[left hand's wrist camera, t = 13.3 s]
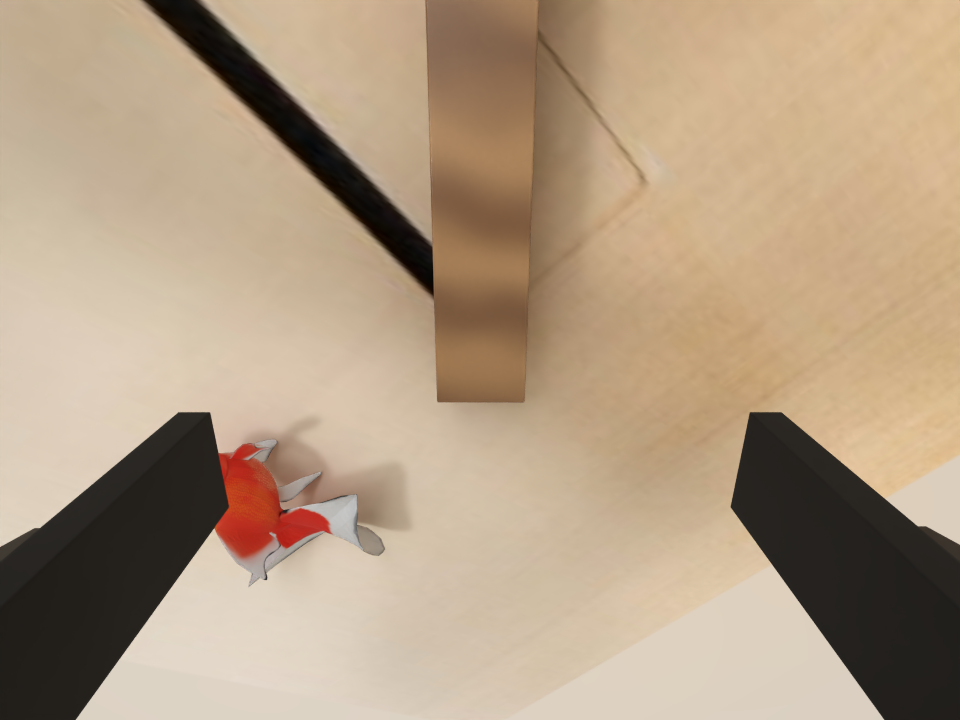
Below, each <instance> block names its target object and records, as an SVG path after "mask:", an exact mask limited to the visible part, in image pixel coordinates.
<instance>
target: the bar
mask: <svg viewBox="0 0 960 720" xmlns="http://www.w3.org/2000/svg"><path fill="white" fill-rule="evenodd" d="M538 12H539V0H426V34H427V68H428V102H429V137H430V171H431V205H432V240H433V274H434V308H435V343H436V377H437V401H438V402H524V401H525V374H526V346H527V318H528V291H529V263H530V235H531V207H532V179H533V151H534V123H535V95H536V67H537V40H538Z"/></svg>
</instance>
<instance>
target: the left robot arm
mask: <svg viewBox="0 0 960 720" xmlns="http://www.w3.org/2000/svg"><path fill="white" fill-rule="evenodd" d="M228 508H229V503H228V498H227V493H226V488H225V483H224V478H223V474H222V469H221V464H220V459H219V454H218V449H217V444H216V439H215V434H214V429H213V424H212V419H211V414H210V412H178V413H177V414H176V415H175V416H174V417H173V418H171V419H170V420H169V421H168V422H167V423H165V424H164V425H163V426H162V427H161V428H159V429H158V430H157V431H156V432H155V433H153V434H152V435H151V436H150V437H149V438H147V439H146V440H145V441H144V442H143V443H141V444H140V445H139V446H138V447H137V448H135V449H134V450H133V451H132V452H131V453H129V454H128V455H127V456H126V457H125V458H123V459H122V460H121V461H120V462H119V463H118V464H116V465H115V466H114V467H113V468H112V469H110V470H109V471H108V472H107V473H106V474H104V475H103V476H102V477H101V478H100V479H98V480H97V481H96V482H95V483H94V484H92V485H91V486H90V487H89V488H88V489H86V490H85V491H84V492H83V493H82V494H80V495H79V496H78V497H77V498H76V499H74V500H73V501H72V502H71V503H70V504H68V505H67V506H66V507H65V508H64V509H62V510H61V511H60V512H59V513H58V514H57V515H55V516H54V517H53V518H52V519H51V520H49V521H48V522H47V523H46V524H45V525H43V526H42V527H41V528H34V529H32V530H31V531H29V532H27V533H25V534H23V535H21V536H20V537H18V538H16V539H14V540H12V541H11V542H9V543H7V544H5V545H3V546H1V547H0V720H76V719H77V717H78V716H79V714H80V713H81V711H82V710H83V709H84V707H85V706H86V705H87V703H88V702H89V701H90V699H91V698H92V696H93V695H94V694H95V692H96V691H97V689H98V688H99V687H100V685H101V684H102V683H103V681H104V680H105V678H106V677H107V676H108V674H109V673H110V671H111V670H112V669H113V667H114V666H115V665H116V663H117V662H118V660H119V659H120V658H121V656H122V655H123V654H124V652H125V651H126V649H127V648H128V647H129V645H130V644H131V642H132V641H133V640H134V638H135V637H136V636H137V634H138V633H139V631H140V630H141V629H142V627H143V626H144V624H145V623H146V622H147V620H148V619H149V618H150V616H151V615H152V613H153V612H154V611H155V609H156V608H157V606H158V605H159V604H160V602H161V601H162V600H163V598H164V597H165V595H166V594H167V593H168V591H169V590H170V588H171V587H172V586H173V584H174V583H175V582H176V580H177V579H178V577H179V576H180V575H181V573H182V572H183V571H184V569H185V568H186V566H187V565H188V564H189V562H190V561H191V559H192V558H193V557H194V555H195V554H196V553H197V551H198V550H199V548H200V547H201V546H202V544H203V543H204V541H205V540H206V539H207V537H208V536H209V535H210V533H211V532H212V530H213V529H214V528H215V526H216V525H217V523H218V522H219V521H220V519H221V518H222V517H223V515H224V514H225V512H226V511H227V510H228ZM731 508H732V510H733V511H734V512H735V514H736V515H737V517H738V518H739V519H740V521H741V522H742V523H743V525H744V526H745V528H746V529H747V530H748V532H749V533H750V535H751V536H752V537H753V539H754V540H755V541H756V543H757V544H758V546H759V547H760V548H761V550H762V551H763V553H764V554H765V555H766V557H767V558H768V559H769V561H770V562H771V564H772V565H773V566H774V568H775V569H776V570H777V572H778V573H779V575H780V576H781V577H782V579H783V580H784V582H785V583H786V584H787V586H788V587H789V588H790V590H791V591H792V593H793V594H794V595H795V597H796V598H797V599H798V601H799V602H800V604H801V605H802V606H803V608H804V609H805V611H806V612H807V613H808V615H809V616H810V618H811V619H812V620H813V622H814V623H815V624H816V626H817V627H818V629H819V630H820V631H821V633H822V634H823V635H824V637H825V638H826V640H827V641H828V642H829V644H830V645H831V647H832V648H833V649H834V651H835V652H836V653H837V655H838V656H839V658H840V659H841V660H842V662H843V663H844V665H845V666H846V667H847V669H848V670H849V671H850V673H851V674H852V676H853V677H854V678H855V680H856V681H857V683H858V684H859V685H860V687H861V688H862V689H863V691H864V692H865V694H866V695H867V696H868V698H869V699H870V701H871V702H872V703H873V705H874V706H875V707H876V709H877V710H878V712H879V713H880V714H881V716H882V717H883V719H884V720H960V545H959V544H957V543H955V542H954V541H952V540H950V539H948V538H946V537H944V536H943V535H941V534H939V533H937V532H935V531H933V530H932V529H930V528H928V527H926V526H924V527H922V526H920V527H918V526H917V525H915V524H914V523H913V522H912V521H911V520H909V519H908V518H907V517H906V516H905V515H903V514H902V513H901V512H900V511H899V510H898V509H896V508H895V507H894V506H893V505H891V504H890V503H889V502H888V501H887V500H886V499H884V498H883V497H882V496H881V495H880V494H878V493H877V492H876V491H875V490H874V489H872V488H871V487H870V486H869V485H868V484H866V483H865V482H864V481H863V480H862V479H860V478H859V477H858V476H857V475H856V474H854V473H853V472H852V471H851V470H850V469H848V468H847V467H846V466H845V465H844V464H842V463H841V462H840V461H839V460H838V459H837V458H835V457H834V456H833V455H832V454H831V453H829V452H828V451H827V450H826V449H825V448H823V447H822V446H821V445H820V444H819V443H817V442H816V441H815V440H814V439H813V438H811V437H810V436H809V435H808V434H807V433H805V432H804V431H803V430H802V429H801V428H799V427H798V426H797V425H796V424H795V423H793V422H792V421H791V420H790V419H789V418H787V417H786V416H785V415H784V414H783V413H782V412H750V414H749V419H748V424H747V429H746V434H745V439H744V444H743V449H742V454H741V459H740V464H739V469H738V473H737V478H736V483H735V488H734V493H733V498H732V503H731Z"/></svg>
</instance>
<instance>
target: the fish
mask: <svg viewBox="0 0 960 720" xmlns="http://www.w3.org/2000/svg"><path fill="white" fill-rule="evenodd" d="M276 444H277V441H276V440H274V439H271V440H265V441H261V442H257V443H255V444H251V443H248V444H243V445H241V446H240V447H239V448H238V449H237V450H236V451H235V452H234V453H233V452H232V453H218V454H219V459H220V464H221V469H222V474H223V478H224V483H225V488H226V493H227V498H228V503H229V508H228V510H227V511H226V512H225V514H224V515H223V517H222V518H221V519H220V521H219V522H218V523H217V525H216V526H215V530H216V533H217V535H218V536H219V538H220V540H221V542H222V543H223V545H224V547H225V548H226V550H227V551H228V553H229V554H230V555H231V557H232V558H233V559H234V560H235V561H236V563H237V564H239V565H240V566H242V567H243V568H244V569H246V570H247V571H249V572H251V573H252V576H251V579H250V583H249V586H250V585H252V584H253V583H254V582H255V581H257V580H258V579H259V578H262V579H264V580H267V574H266V573H267V572H268V571H269V570H270V569H272V568H273V567H274V566H275V565H277V564H278V563H280V562H281V561H282V560H284V559H285V558H286V557H288V556H289V555H291V554H292V553H293V552H295V551H296V550H297V549H299V548H300V547H302V546H303V545H304V544H306V543H307V542H309V541H311V540H312V539H314V538H316V537H317V536H319V535H320V534H322V533H324V532H327V533H329V534H332V535H335V536H337V537H340V538H342V539H345V540H347V541H349V542H351V543H353V544H354V545H356V546H358V547H359V548H360V549H361V550H363V551H364V552H366V553H369V554H371V555H376V556H379V555H380V554H382V553H383V551H384V550H385V548H384V545H383V543H382V540H381V538H379V537H378V536H377V535H376V534H375V533H374V532H372V531H371V530H370V529H369V528H367V527H363V526H359V525H357V494H356V495H347V496H340V497H337V498H334V499H331V500H328V501H325V502H322V503H317V504H311V505H306V506H301V507H297V508H292V509H287V510H283V509H281V507H280V502H287V501H289V500H291V499H293V498H294V497H295V496H297V495H298V494H299V493H300V492H301V491H302V490H303V489H304V488H305V487H306V486H307V485H309V484H310V483H311V482H312V481H313V480H315V479H316V478H317V477H318V476H319V475H321V472H318V473H315V474H312V475H309V476H306V477H303V478H300V479H298V480H296V481H294V482H292V483H290V484H288V485H285V486H282V487H277V486H276V483H275V481H274V478H273V477H272V475H271V473H270V472H269V471H268V469H267V468H266V467H265V466H264V465H263V463H261V462H264V461H266V460H267V459H268V457H269V455H270V453H271V451H272V449H273V448H274V447H275V445H276ZM249 586H248V587H249Z"/></svg>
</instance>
